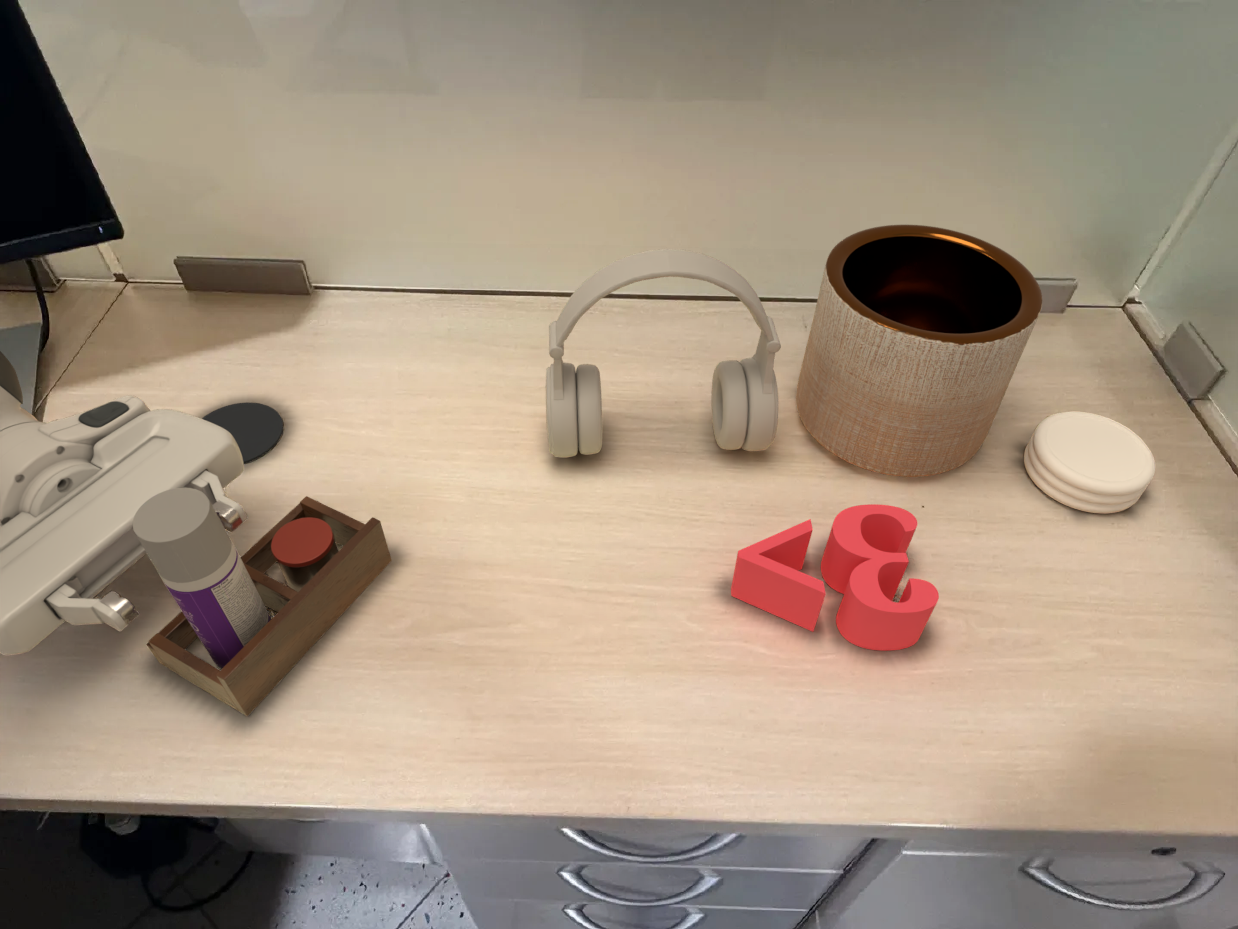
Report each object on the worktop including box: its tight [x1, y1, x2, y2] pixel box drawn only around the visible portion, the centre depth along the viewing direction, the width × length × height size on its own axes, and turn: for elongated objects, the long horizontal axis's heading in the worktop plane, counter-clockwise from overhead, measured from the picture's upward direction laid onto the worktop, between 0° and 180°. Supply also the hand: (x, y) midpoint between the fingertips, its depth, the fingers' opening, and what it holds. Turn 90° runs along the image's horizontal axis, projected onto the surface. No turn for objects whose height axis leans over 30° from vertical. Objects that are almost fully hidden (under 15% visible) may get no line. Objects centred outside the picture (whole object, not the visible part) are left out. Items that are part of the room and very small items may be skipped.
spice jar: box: [271, 517, 340, 592], centre depth 65 cm, size 4×4×4 cm
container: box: [133, 488, 272, 671], centre depth 57 cm, size 5×5×15 cm
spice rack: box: [145, 495, 393, 717], centre depth 63 cm, size 9×16×5 cm, turn 151°
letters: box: [730, 503, 940, 652], centre depth 64 cm, size 14×10×5 cm
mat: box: [201, 401, 284, 465], centre depth 78 cm, size 8×8×1 cm
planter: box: [795, 224, 1043, 478], centre depth 75 cm, size 18×18×16 cm
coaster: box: [1023, 410, 1156, 514], centre depth 74 cm, size 10×10×4 cm
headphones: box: [545, 248, 782, 458], centre depth 71 cm, size 20×8×19 cm, turn 93°
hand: (185, 566), depth 57 cm, fingers open, 8 cm apart
